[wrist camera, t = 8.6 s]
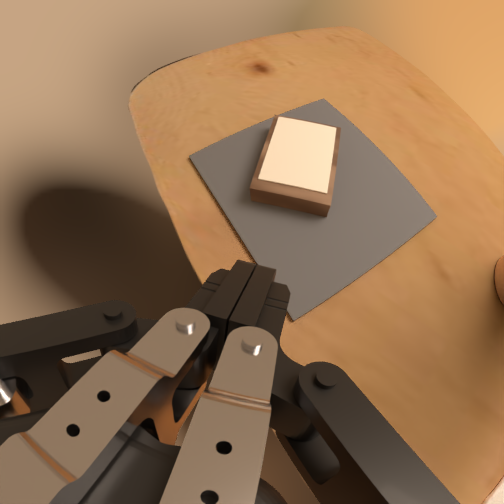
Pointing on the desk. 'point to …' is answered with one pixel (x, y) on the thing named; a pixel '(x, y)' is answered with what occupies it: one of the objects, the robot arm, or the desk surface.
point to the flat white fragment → (496, 494)
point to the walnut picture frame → (297, 166)
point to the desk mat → (314, 226)
